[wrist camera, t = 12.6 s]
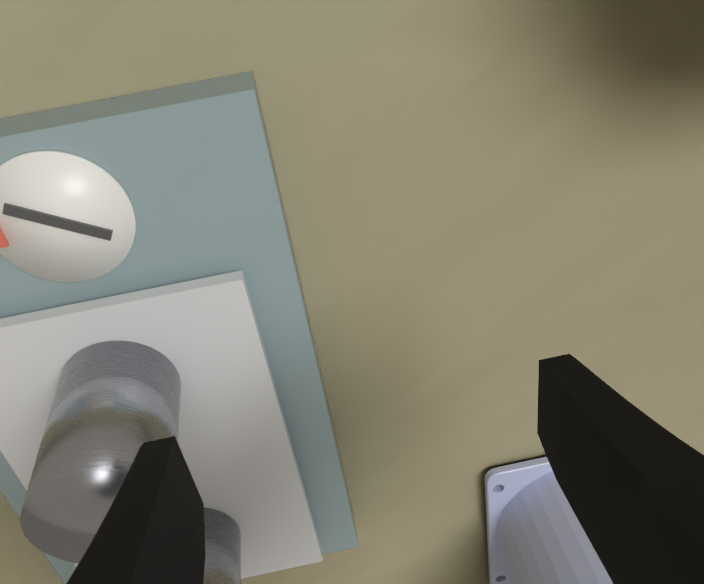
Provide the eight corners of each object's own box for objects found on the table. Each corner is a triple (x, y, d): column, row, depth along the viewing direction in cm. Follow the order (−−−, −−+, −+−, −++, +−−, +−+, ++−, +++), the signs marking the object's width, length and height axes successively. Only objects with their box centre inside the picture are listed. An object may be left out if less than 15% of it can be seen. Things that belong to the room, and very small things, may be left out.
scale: (353, 515, 30) (362, 567, 28) (87, 572, 30) (75, 629, 28) (252, 71, 19) (255, 101, 17) (-183, 153, 18) (-237, 195, 16)
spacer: (187, 421, 22) (181, 554, 18) (73, 434, 22) (40, 573, 18) (172, 335, 20) (161, 462, 16) (46, 346, 20) (2, 481, 16)
